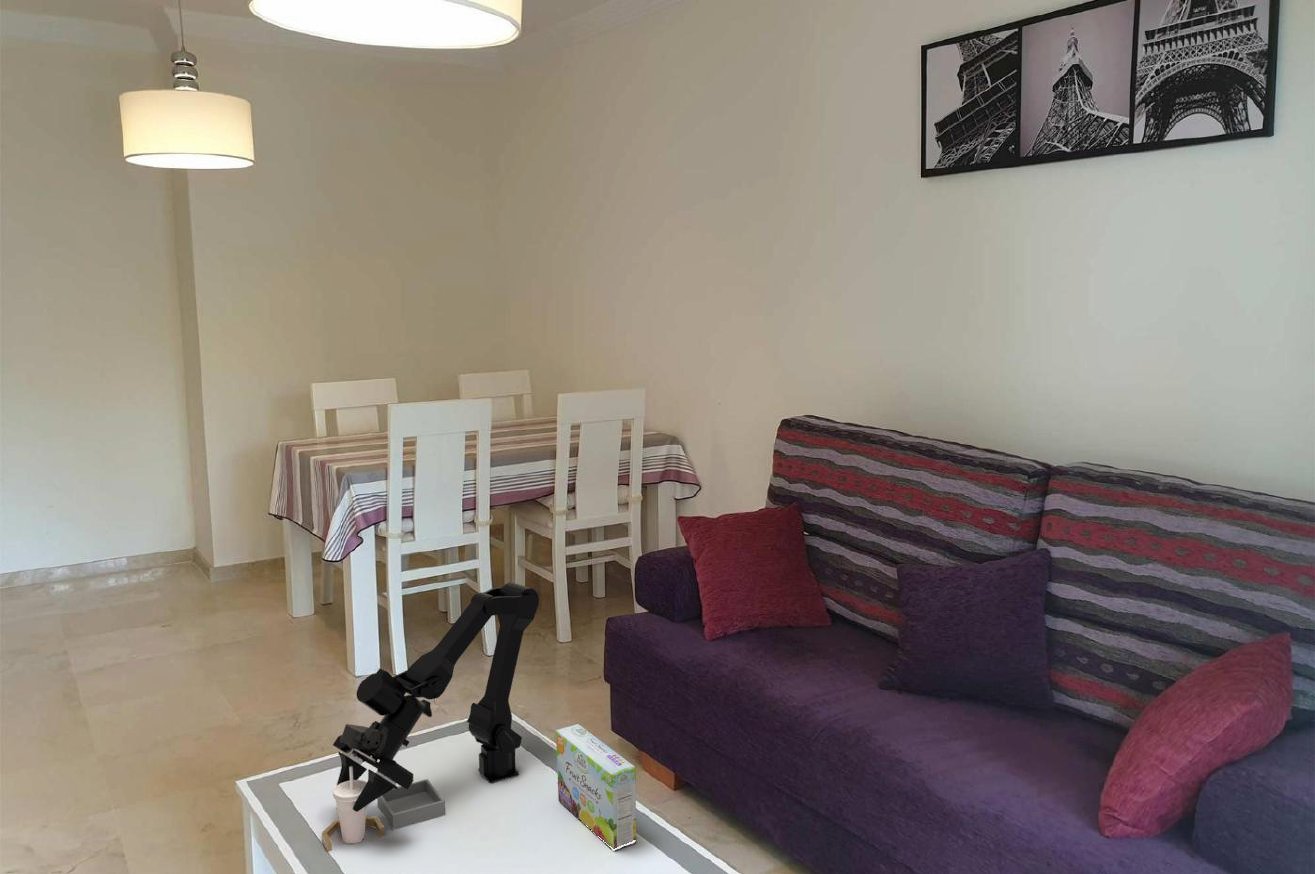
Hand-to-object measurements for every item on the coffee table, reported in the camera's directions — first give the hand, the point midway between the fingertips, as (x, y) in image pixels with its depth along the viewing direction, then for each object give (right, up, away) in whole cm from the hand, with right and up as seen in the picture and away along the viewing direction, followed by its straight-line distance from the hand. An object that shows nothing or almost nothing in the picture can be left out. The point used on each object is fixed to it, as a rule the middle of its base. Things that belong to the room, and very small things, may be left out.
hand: (344, 804), depth 180 cm
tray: (+9, -5, +12) cm, 16 cm away
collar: (0, -7, +3) cm, 7 cm away
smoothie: (+1, -7, +2) cm, 7 cm away
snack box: (+44, -6, +8) cm, 46 cm away
